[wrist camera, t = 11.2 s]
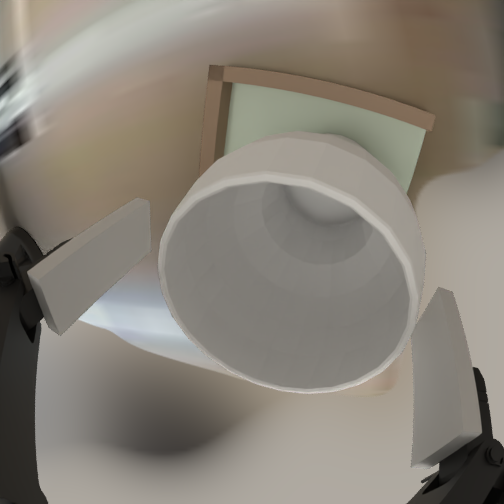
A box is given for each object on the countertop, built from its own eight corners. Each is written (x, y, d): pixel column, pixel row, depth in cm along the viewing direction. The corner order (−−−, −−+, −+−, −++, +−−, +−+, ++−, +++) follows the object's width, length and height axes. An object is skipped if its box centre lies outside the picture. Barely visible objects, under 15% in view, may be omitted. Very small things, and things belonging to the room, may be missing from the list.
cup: (407, 234, 22) (430, 395, 10) (286, 253, 27) (212, 393, 15) (378, 99, 18) (411, 108, 6) (244, 136, 23) (104, 205, 11)
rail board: (205, 293, 34) (193, 309, 32) (226, 66, 21) (209, 64, 19) (340, 340, 31) (336, 360, 29) (426, 112, 18) (435, 115, 15)
